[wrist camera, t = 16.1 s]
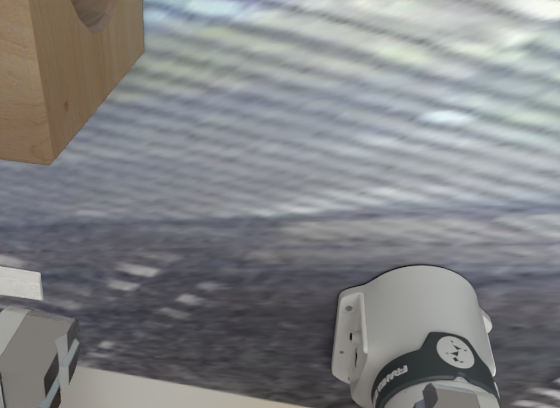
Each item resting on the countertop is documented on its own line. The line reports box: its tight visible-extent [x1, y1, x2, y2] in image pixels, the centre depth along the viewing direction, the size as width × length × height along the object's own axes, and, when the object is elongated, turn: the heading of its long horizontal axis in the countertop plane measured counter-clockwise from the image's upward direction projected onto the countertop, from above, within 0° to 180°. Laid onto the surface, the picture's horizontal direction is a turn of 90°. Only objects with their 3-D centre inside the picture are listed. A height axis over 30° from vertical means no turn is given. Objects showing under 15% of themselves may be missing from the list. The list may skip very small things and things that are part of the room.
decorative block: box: [0, 0, 144, 165], centre depth 35 cm, size 11×6×20 cm, turn 173°
